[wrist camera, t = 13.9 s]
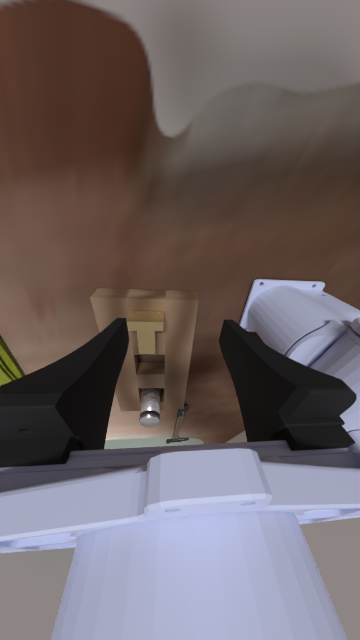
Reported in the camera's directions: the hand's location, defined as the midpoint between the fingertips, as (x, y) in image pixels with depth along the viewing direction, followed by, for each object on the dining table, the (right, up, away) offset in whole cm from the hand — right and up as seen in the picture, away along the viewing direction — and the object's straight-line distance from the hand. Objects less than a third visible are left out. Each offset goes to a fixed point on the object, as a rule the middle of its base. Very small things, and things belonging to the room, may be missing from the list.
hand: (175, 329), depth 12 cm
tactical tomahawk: (+1, -26, +30) cm, 39 cm away
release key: (-4, 0, +8) cm, 9 cm away
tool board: (-4, -5, +15) cm, 16 cm away
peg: (-5, -11, +19) cm, 22 cm away
